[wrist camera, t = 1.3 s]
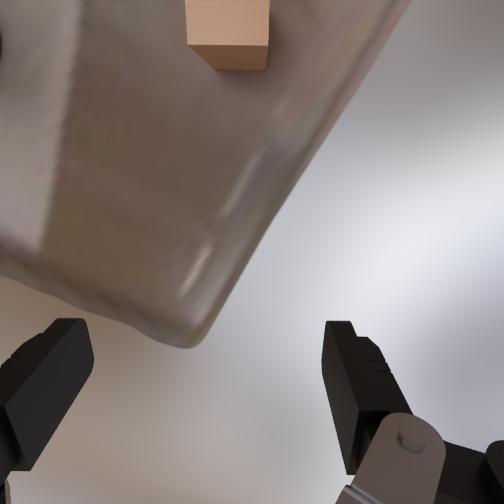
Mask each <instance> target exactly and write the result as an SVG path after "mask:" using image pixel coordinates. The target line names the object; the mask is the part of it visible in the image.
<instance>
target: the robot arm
mask: <svg viewBox="0 0 504 504" xmlns="http://www.w3.org/2000/svg"><path fill="white" fill-rule="evenodd" d="M321 363H322V375H323V380H324V384H325V387H326V392H327V396H328V400H329V404H330V408H331V412H332V416H333V420H334V424H335V428H336V432H337V437H338V440H339V444H340V449H341V453H342V457H343V461H344V465H345V469H346V473H347V475H355V477H354V479H353V481H352V483H351V484H350V486H349V485H346V486H345V487H344V489H343V490H342V492H341V494H340V496H339V497H338V499H337V501H336V503H335V504H504V440H500V441H495V442H493V443H491V444H490V445H489V446H488V448H487V450H486V452H485V453H482V452H479V451H476V450H472V449H469V448H465V447H462V446H459V445H455V444H452V443H449V442H446V441H444V440H443V439H442V437H441V436H440V435H439V433H438V432H437V431H436V430H435V429H434V428H433V427H432V426H431V425H430V424H429V423H427V422H426V421H424V420H422V419H421V418H419V417H416V416H414V415H413V413H412V411H411V409H410V408H409V405H408V403H407V401H406V399H405V397H404V395H403V394H402V392H401V390H400V388H399V386H398V384H397V382H396V380H395V378H394V376H393V374H392V373H391V370H390V368H389V366H388V364H387V363H386V362H385V358H384V356H383V354H382V352H381V350H380V348H379V347H378V346H377V345H376V344H375V343H373V342H372V341H371V340H370V339H369V338H368V337H357V335H356V333H355V330H354V328H353V326H352V323H351V322H350V321H327V322H326V325H325V333H324V341H323V350H322V362H321ZM93 364H94V354H93V350H92V345H91V341H90V337H89V333H88V328H87V324H86V322H85V320H84V319H82V318H58V319H56V320H55V321H54V322H53V323H52V324H51V325H50V326H49V327H48V328H47V329H46V330H45V331H44V332H43V333H39V334H38V335H36V336H35V337H33V338H31V339H29V340H28V341H26V342H25V343H23V344H22V345H21V346H20V347H19V348H18V349H17V350H16V351H15V352H14V353H13V354H12V355H11V358H9V359H7V360H6V361H5V362H4V363H3V364H2V365H1V368H0V504H11V496H10V487H9V483H8V481H7V477H8V475H9V473H10V472H11V471H30V470H31V469H32V467H33V466H34V464H35V462H36V461H37V459H38V458H39V456H40V454H41V453H42V451H43V449H44V448H45V446H46V445H47V443H48V442H49V440H50V438H51V437H52V435H53V434H54V432H55V430H56V429H57V427H58V426H59V424H60V422H61V421H62V419H63V417H64V416H65V414H66V413H67V411H68V409H69V408H70V406H71V405H72V403H73V401H74V400H75V398H76V396H77V395H78V393H79V392H80V390H81V389H82V387H83V385H84V384H85V382H86V381H87V379H88V377H89V376H90V374H91V372H92V368H93Z"/></svg>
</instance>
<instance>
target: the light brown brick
mask: <svg viewBox="0 0 504 504" xmlns="http://www.w3.org/2000/svg"><path fill="white" fill-rule="evenodd" d="M269 3H270V0H185V8H186V27H187V45H188V46H190V47H191V48H192V49H193V50H194V51H195V52H196V53H197V54H198V55H199V56H201V57H202V58H203V59H204V60H205V61H206V62H207V63H208V64H209V65H210V66H212V67H213V68H214V69H215V70H265V68H266V60H267V52H268V39H269Z"/></svg>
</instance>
